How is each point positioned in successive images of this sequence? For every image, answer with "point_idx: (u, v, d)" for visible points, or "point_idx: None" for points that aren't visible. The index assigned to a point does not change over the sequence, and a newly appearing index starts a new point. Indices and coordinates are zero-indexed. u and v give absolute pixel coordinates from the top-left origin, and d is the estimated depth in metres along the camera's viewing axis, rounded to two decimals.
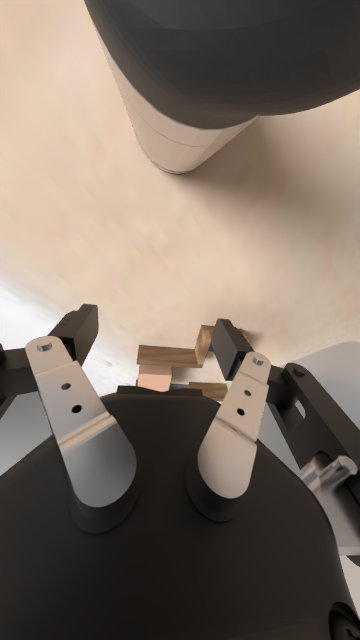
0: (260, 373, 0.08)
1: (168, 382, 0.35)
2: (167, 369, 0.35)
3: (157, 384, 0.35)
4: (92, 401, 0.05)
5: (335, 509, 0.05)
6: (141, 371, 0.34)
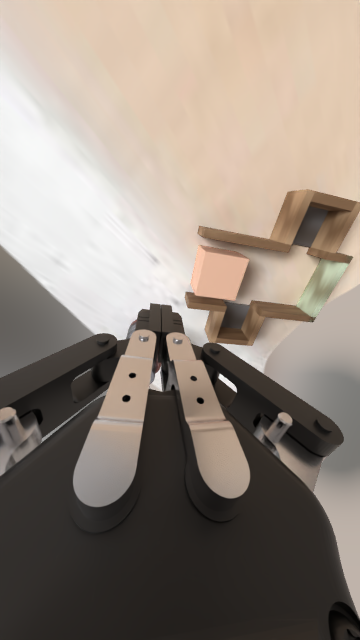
0: (172, 350, 0.09)
1: (242, 273, 0.25)
2: (240, 255, 0.26)
3: (226, 276, 0.25)
4: (140, 400, 0.06)
5: (293, 463, 0.06)
6: (207, 251, 0.24)
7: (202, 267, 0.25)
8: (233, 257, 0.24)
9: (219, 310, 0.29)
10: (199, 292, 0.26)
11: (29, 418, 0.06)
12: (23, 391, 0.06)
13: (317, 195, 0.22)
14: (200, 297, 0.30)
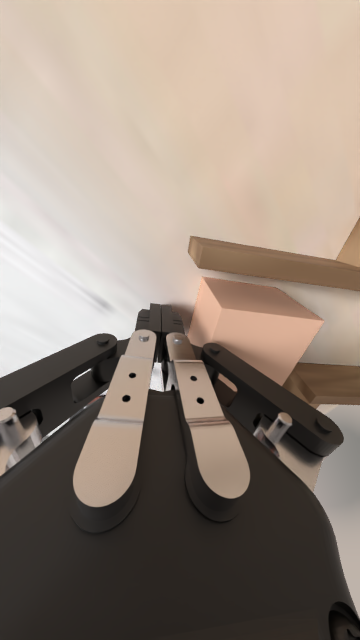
0: (172, 350, 0.09)
1: (301, 348, 0.11)
2: (295, 306, 0.11)
3: (266, 355, 0.11)
4: (140, 400, 0.06)
5: (293, 462, 0.06)
6: (226, 303, 0.10)
7: (212, 340, 0.10)
8: (288, 318, 0.10)
9: None
10: None
11: (29, 418, 0.06)
12: (23, 391, 0.06)
13: None
14: None
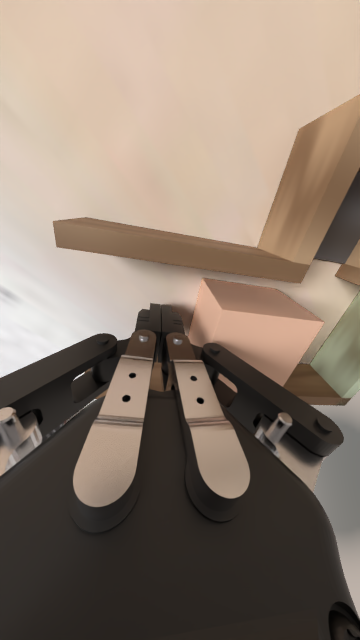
0: (171, 350, 0.09)
1: (301, 349, 0.11)
2: (296, 308, 0.11)
3: (266, 356, 0.11)
4: (140, 400, 0.06)
5: (293, 462, 0.06)
6: (226, 305, 0.10)
7: (212, 341, 0.10)
8: (288, 319, 0.10)
9: None
10: None
11: (29, 418, 0.06)
12: (23, 391, 0.06)
13: None
14: None
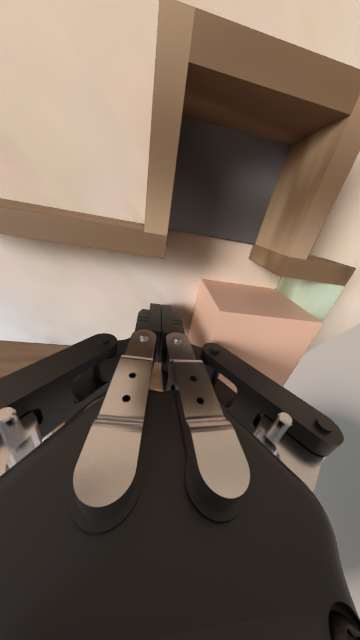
0: (171, 350, 0.09)
1: (301, 350, 0.11)
2: (294, 308, 0.11)
3: (265, 357, 0.11)
4: (140, 400, 0.06)
5: (293, 462, 0.06)
6: (224, 306, 0.10)
7: (211, 342, 0.10)
8: (286, 320, 0.10)
9: None
10: None
11: (29, 418, 0.06)
12: (23, 391, 0.06)
13: (210, 33, 0.06)
14: (15, 355, 0.14)
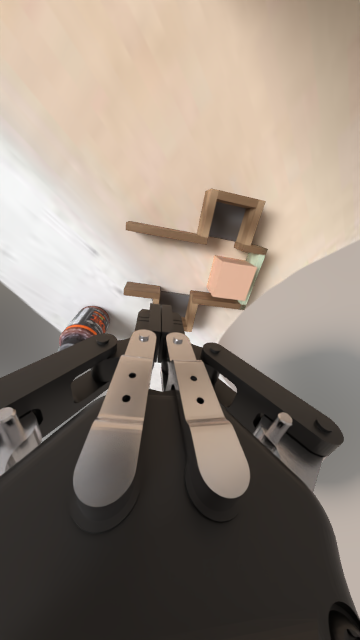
0: (171, 350, 0.09)
1: (251, 278, 0.31)
2: (249, 264, 0.32)
3: (238, 281, 0.31)
4: (140, 400, 0.06)
5: (293, 462, 0.06)
6: (224, 261, 0.30)
7: (219, 274, 0.30)
8: (244, 266, 0.30)
9: (153, 297, 0.32)
10: (216, 294, 0.32)
11: (29, 418, 0.06)
12: (23, 391, 0.06)
13: (221, 194, 0.26)
14: (138, 286, 0.33)
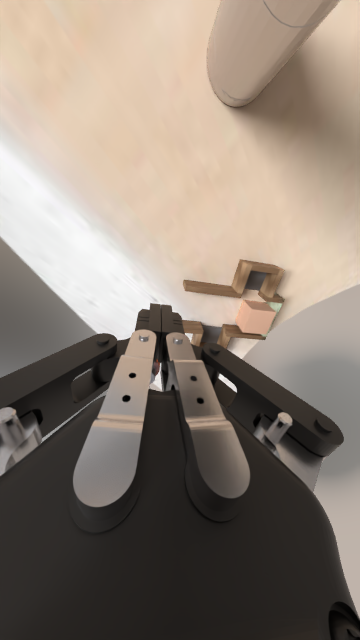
0: (171, 350, 0.09)
1: (271, 319, 0.42)
2: (270, 308, 0.42)
3: (262, 321, 0.42)
4: (140, 400, 0.06)
5: (293, 462, 0.06)
6: (252, 308, 0.41)
7: (248, 317, 0.41)
8: (267, 311, 0.41)
9: (198, 333, 0.43)
10: (245, 330, 0.43)
11: (29, 418, 0.06)
12: (23, 391, 0.06)
13: (254, 267, 0.36)
14: (186, 323, 0.44)
